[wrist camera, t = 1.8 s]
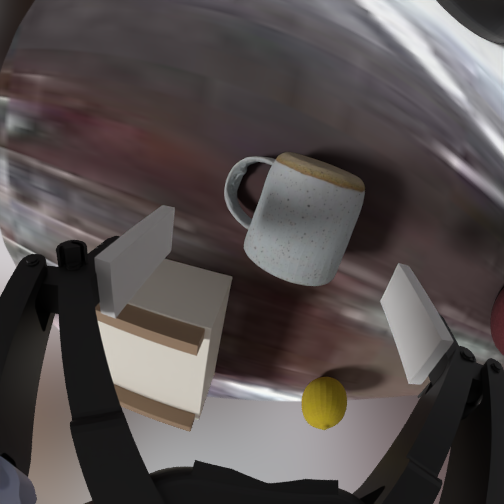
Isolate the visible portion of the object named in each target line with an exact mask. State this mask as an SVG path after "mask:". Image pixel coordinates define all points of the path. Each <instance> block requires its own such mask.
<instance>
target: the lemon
mask: <svg viewBox="0 0 504 504" xmlns="http://www.w3.org/2000/svg"><path fill="white" fill-rule="evenodd" d="M346 407H347V396H346V391H345V389H344V387H343V386H342V384H341V383H340V382H339V381H338V380H336V379H334V378H331V377H320V378H317V379H315V380H313V381H312V382H310V383H309V384H308V386H307V387H306V388H305V390H304V393H303V396H302V412H303V415H304V417H305V419H306V421H307V422H308V423H309V424H310V425H311V426H313V427H315V428H318V429H322V430H326V429H328V428H331V427H333V426H335V425H336V424H338V423H339V422H340V421H341V420H342V418H343V416H344V414H345V411H346Z"/></svg>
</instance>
